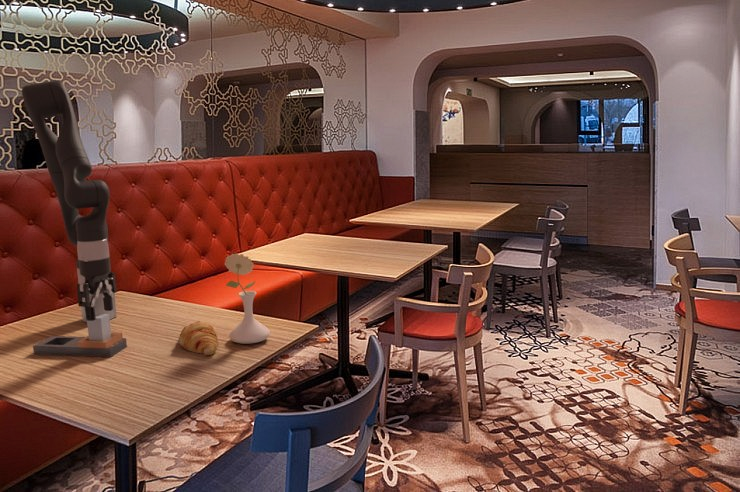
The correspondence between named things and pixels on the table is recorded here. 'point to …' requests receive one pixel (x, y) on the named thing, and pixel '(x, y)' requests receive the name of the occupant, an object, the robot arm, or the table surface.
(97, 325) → the peg
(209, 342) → the croissant
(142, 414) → the table surface
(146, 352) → the table surface
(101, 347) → the socket
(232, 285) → the flower in vase
